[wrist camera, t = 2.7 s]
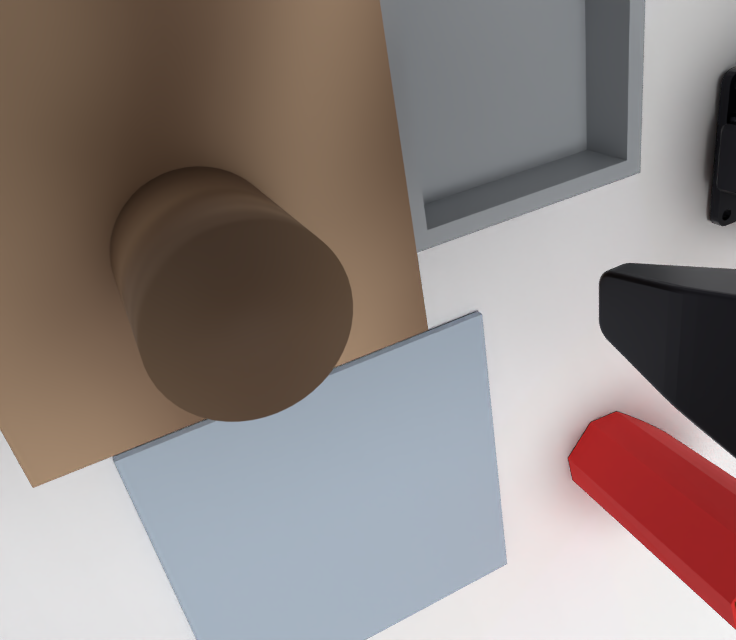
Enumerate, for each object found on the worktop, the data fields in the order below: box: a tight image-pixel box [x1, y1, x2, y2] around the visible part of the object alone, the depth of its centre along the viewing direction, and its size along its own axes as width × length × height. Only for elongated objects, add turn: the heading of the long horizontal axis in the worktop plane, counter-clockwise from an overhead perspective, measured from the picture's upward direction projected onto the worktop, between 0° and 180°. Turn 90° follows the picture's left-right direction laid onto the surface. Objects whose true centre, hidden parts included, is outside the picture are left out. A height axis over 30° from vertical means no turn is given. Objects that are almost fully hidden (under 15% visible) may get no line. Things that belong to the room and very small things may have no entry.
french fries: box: [568, 411, 736, 629], centre depth 28 cm, size 9×4×13 cm, turn 58°
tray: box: [380, 0, 645, 252], centre depth 21 cm, size 9×9×2 cm
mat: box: [113, 311, 507, 640], centre depth 27 cm, size 14×14×1 cm
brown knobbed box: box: [0, 0, 428, 488], centre depth 15 cm, size 10×10×10 cm
